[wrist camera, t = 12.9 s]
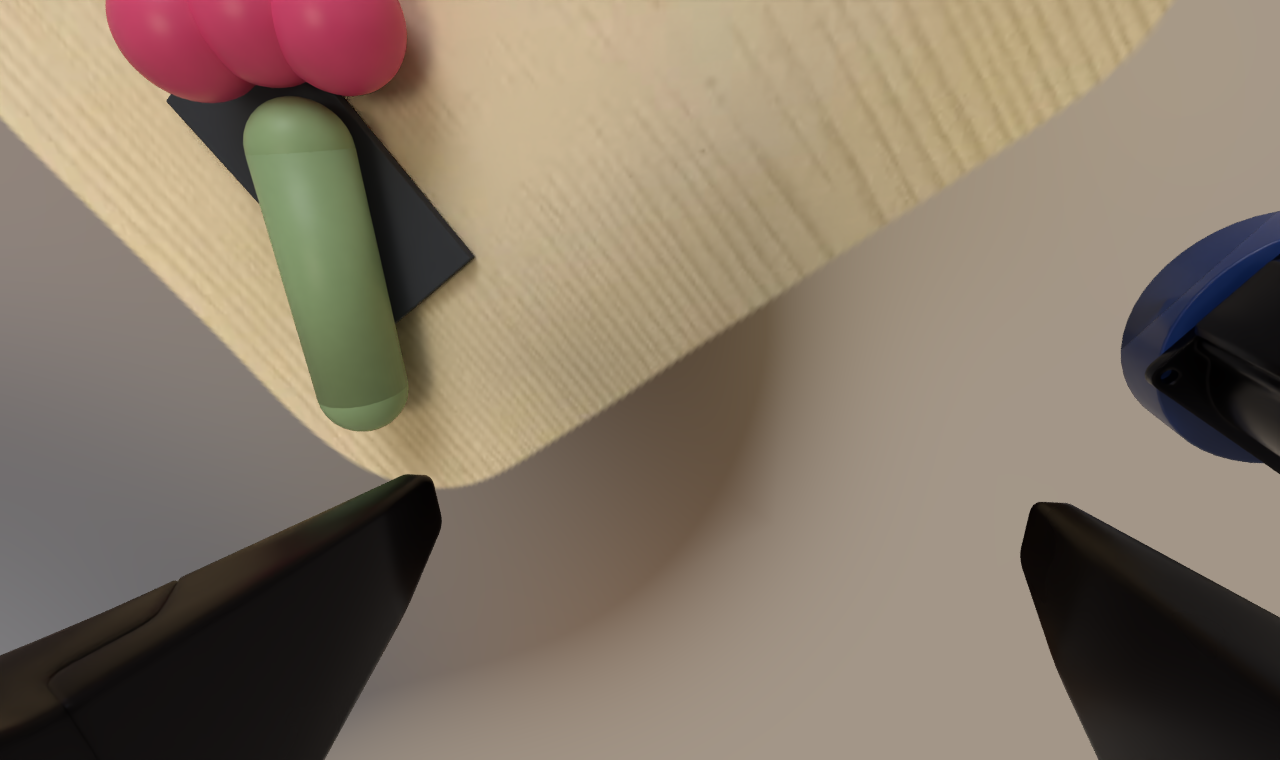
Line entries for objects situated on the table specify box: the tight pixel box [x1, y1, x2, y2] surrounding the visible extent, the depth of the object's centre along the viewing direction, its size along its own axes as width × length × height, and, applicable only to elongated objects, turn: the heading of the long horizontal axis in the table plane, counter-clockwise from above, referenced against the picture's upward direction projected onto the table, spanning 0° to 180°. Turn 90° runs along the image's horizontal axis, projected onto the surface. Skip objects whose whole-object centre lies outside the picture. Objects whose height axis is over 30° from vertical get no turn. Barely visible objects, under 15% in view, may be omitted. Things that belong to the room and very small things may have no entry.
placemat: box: [167, 82, 474, 324], centre depth 20 cm, size 10×5×1 cm, turn 38°
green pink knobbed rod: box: [106, 0, 409, 431], centre depth 19 cm, size 15×8×4 cm, turn 3°
